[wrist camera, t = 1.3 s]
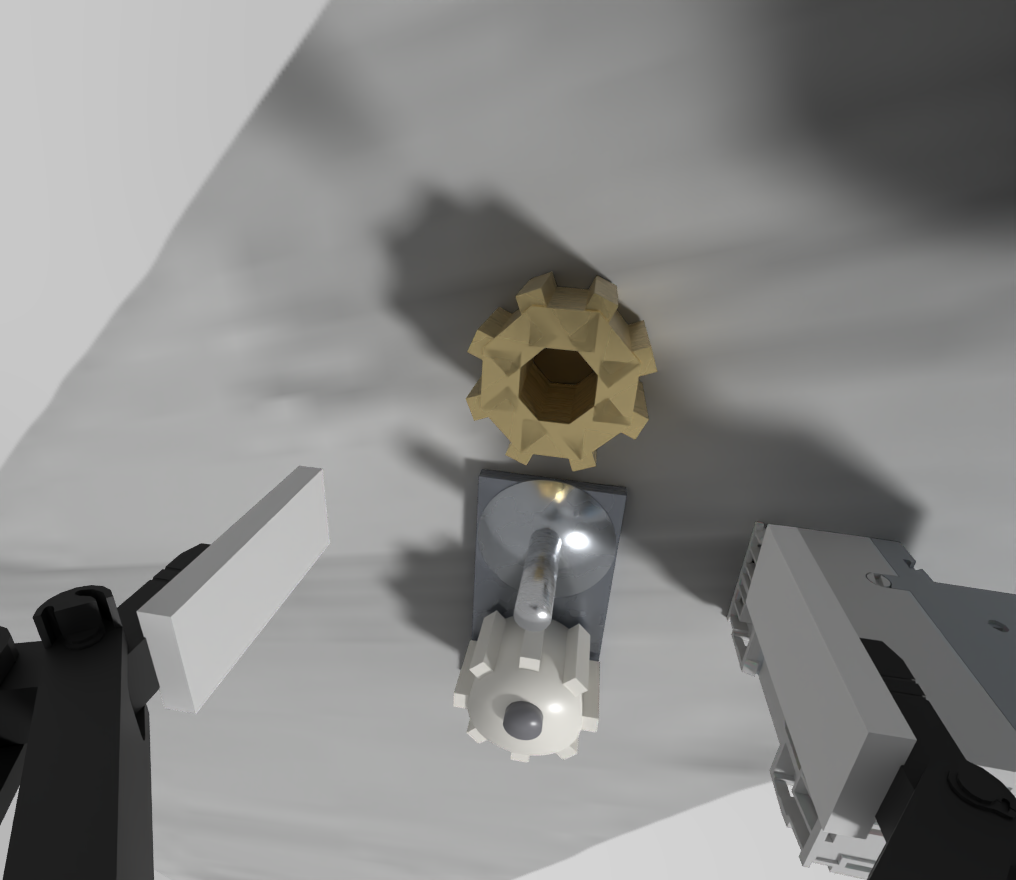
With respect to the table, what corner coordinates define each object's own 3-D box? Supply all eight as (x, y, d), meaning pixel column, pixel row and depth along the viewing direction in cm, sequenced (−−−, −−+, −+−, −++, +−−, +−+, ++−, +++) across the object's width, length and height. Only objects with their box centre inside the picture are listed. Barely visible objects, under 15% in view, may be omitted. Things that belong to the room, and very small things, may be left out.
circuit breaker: (959, 655, 35) (1180, 945, 22) (726, 617, 37) (796, 864, 23) (1013, 557, 32) (1309, 825, 19) (755, 521, 34) (854, 742, 20)
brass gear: (658, 279, 29) (670, 299, 24) (633, 433, 33) (638, 481, 27) (493, 265, 30) (468, 282, 25) (486, 416, 34) (463, 459, 28)
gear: (607, 615, 37) (607, 685, 32) (590, 712, 41) (588, 789, 35) (472, 593, 38) (450, 658, 33) (468, 690, 42) (448, 762, 36)
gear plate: (627, 482, 34) (632, 560, 27) (590, 698, 42) (587, 804, 34) (482, 463, 35) (449, 534, 28) (472, 677, 43) (445, 776, 36)
